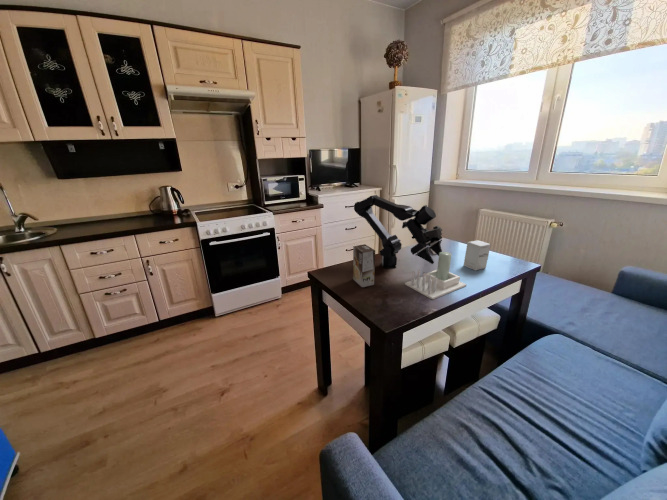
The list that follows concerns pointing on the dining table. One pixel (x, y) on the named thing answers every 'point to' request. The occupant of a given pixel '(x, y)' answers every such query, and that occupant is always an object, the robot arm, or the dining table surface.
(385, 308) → the dining table surface
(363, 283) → the coffee box
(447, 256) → the sage green domed cylinder
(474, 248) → the supplement box
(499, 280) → the dining table surface
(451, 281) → the dish drying rack
